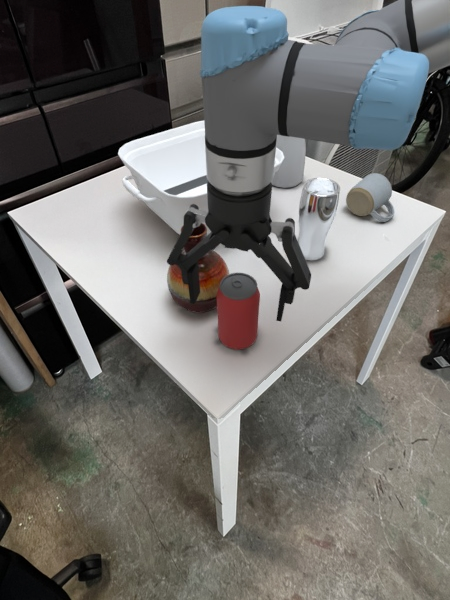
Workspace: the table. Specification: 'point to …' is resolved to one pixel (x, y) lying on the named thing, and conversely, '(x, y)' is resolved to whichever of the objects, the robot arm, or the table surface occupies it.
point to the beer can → (238, 310)
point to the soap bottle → (290, 161)
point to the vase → (209, 276)
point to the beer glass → (316, 215)
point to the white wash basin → (171, 171)
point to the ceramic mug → (371, 197)
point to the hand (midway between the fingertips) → (236, 306)
